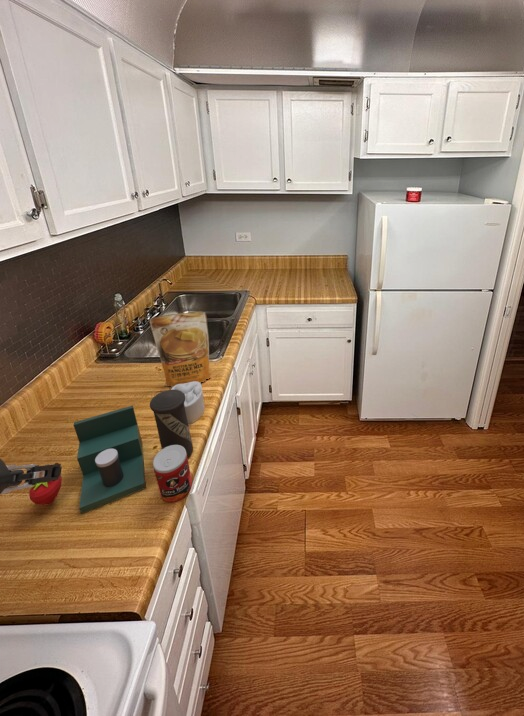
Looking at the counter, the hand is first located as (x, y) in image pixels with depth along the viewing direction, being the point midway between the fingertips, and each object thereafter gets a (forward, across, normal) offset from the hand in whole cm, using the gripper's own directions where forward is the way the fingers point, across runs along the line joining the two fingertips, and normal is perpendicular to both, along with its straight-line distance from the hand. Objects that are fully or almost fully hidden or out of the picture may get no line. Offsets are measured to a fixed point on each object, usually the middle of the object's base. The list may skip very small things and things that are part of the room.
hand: (31, 475), depth 59 cm
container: (+38, -16, 0) cm, 41 cm away
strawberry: (+31, +12, +7) cm, 34 cm away
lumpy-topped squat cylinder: (+50, -16, -12) cm, 54 cm away
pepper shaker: (+31, -2, +4) cm, 31 cm away
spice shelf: (+35, -1, +3) cm, 35 cm away
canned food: (+30, -18, +8) cm, 36 cm away
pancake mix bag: (+63, -13, -25) cm, 69 cm away
